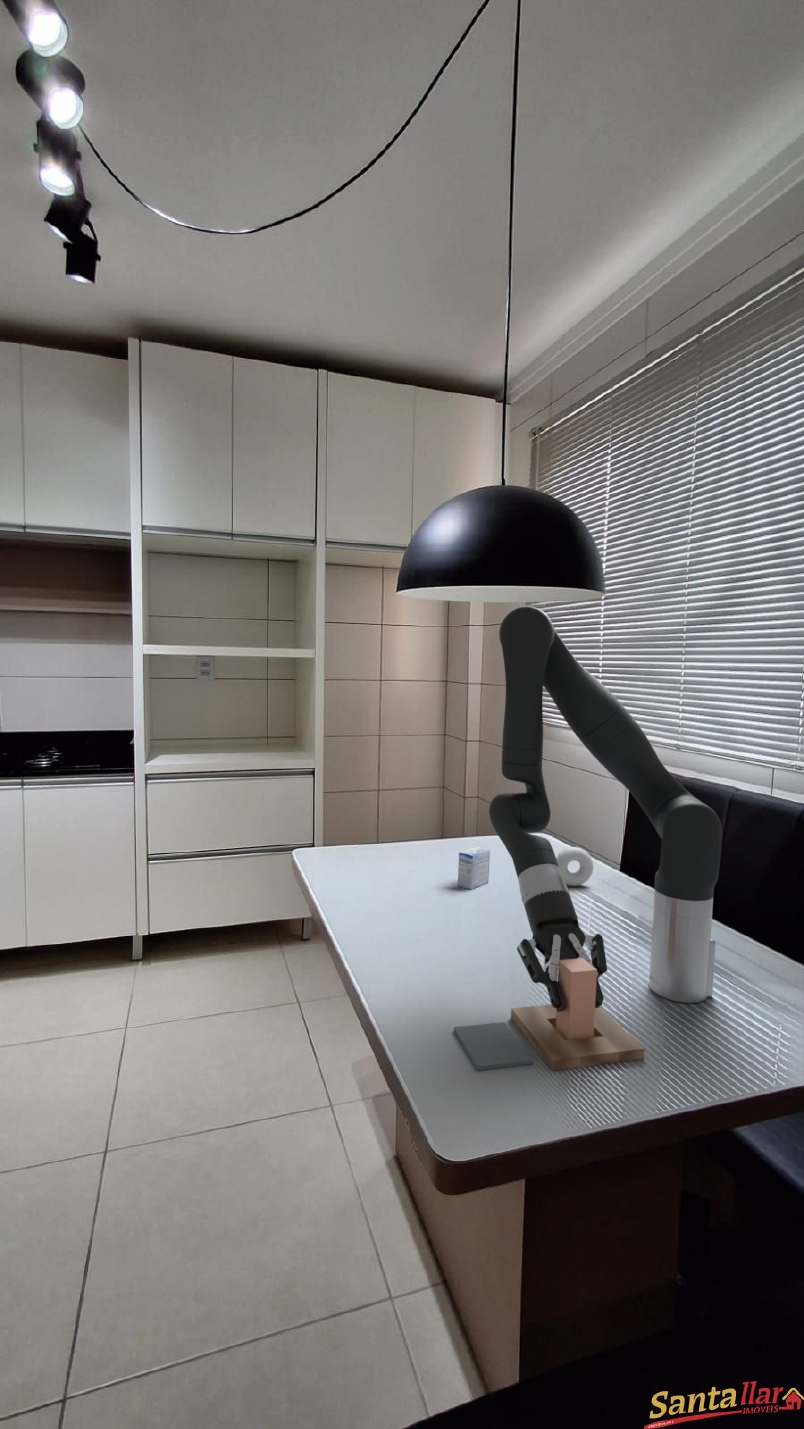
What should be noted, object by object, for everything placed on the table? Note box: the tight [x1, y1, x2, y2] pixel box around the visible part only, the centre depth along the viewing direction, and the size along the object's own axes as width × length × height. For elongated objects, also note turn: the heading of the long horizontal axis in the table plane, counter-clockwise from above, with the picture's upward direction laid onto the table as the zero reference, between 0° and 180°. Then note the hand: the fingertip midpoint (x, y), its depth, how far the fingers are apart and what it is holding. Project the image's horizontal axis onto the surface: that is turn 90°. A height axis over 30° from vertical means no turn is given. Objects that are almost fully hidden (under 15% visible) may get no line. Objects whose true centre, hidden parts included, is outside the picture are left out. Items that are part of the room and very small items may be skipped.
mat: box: [453, 1021, 534, 1072], centre depth 95 cm, size 8×10×1 cm
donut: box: [555, 846, 594, 887], centre depth 170 cm, size 10×4×10 cm, turn 92°
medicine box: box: [457, 846, 491, 890], centre depth 168 cm, size 8×4×9 cm, turn 141°
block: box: [555, 958, 597, 1041], centre depth 98 cm, size 4×4×11 cm
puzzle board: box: [510, 1004, 645, 1072], centre depth 98 cm, size 14×14×2 cm
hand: (580, 1007), depth 97 cm, fingers open, 5 cm apart
